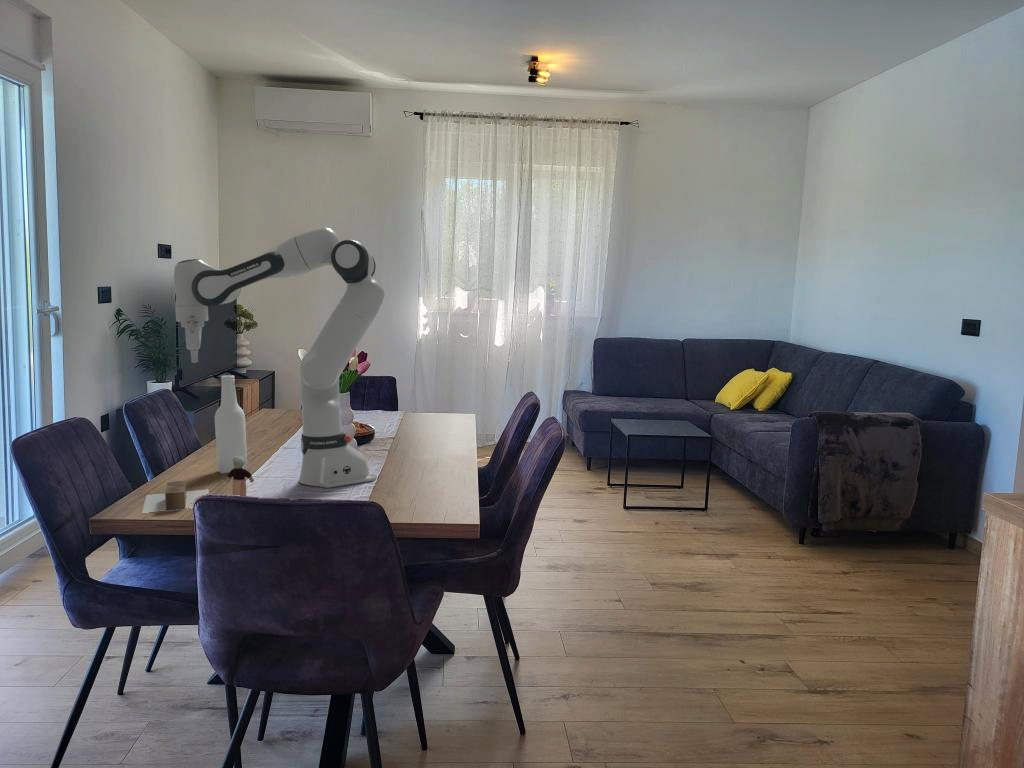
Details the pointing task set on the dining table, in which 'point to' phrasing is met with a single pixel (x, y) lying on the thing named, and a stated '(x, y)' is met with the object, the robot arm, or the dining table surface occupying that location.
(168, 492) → the walnut block
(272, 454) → the dining table surface
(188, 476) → the dining table surface
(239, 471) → the grandmother figurine
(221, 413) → the alcohol
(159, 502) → the felt mat
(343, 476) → the robot arm
